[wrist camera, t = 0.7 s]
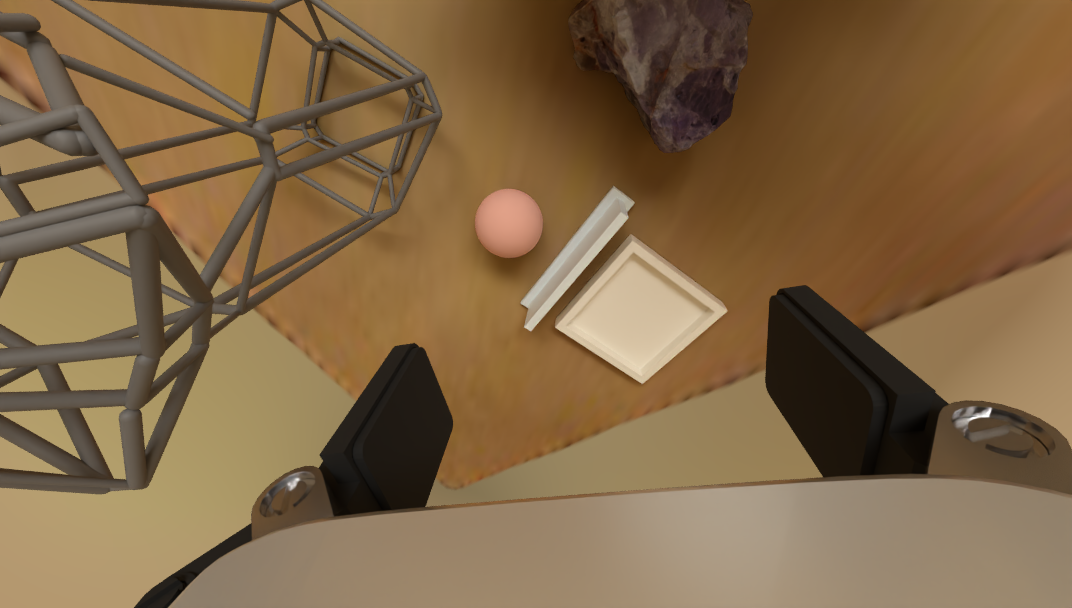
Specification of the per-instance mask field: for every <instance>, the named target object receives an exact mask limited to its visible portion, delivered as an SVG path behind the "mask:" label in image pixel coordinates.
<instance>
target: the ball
mask: <svg viewBox="0 0 1072 608" xmlns="http://www.w3.org/2000/svg"><path fill="white" fill-rule="evenodd" d="M475 229H476V233H477V236H478V238H479V240H480V242H481V243H482V245H483V246H484V247H485V248H486V249H487V250H488V251H490V252H491V253H493V254H495V255H497V256H500V257H504V258H515V257H519V256H522V255H524V254H526V253H528V252H529V251H530V250H532V249H533V248H534V247H535V245H536V244H537V243H538V241H539V239H540V237H541V234H542V229H543V218H542V214H541V211H540V208H539V207H538V205H537V203H536V202H535V201H534V200H533V199H532V198H531V197H530V196H529V195H527V194H526V193H524V192H522V191H519V190H515V189H502V190H498V191H495V192H493V193H491V194H490V195H489V196H487V197H486V198H485V199H484V200H483V201H482V203H481V204H480V206H479V208H478V210H477V213H476V217H475Z"/></svg>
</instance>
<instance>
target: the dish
mask: <svg viewBox="0 0 1072 608" xmlns="http://www.w3.org/2000/svg"><path fill="white" fill-rule="evenodd" d="M726 312H727V309H726V307H725V306H724V304H723V302H722V301H720V300H719V299H718V298H716V297H715V296H714V295H712V294H711V293H710V292H708V291H707V290H706V289H704V288H703V287H702V286H700V285H699V284H698V283H696V282H695V281H693V280H692V279H691V278H689V277H688V276H687V275H685V274H684V273H683V272H681V271H680V270H679V269H677V268H676V267H675V266H673V265H672V264H671V263H669V262H668V261H667V260H665V259H664V258H663V257H661V256H660V255H659V254H657V253H656V252H655V251H653V250H652V249H651V248H649V247H648V246H646V245H645V244H644V243H642V242H641V241H640V240H638V239H637V238H636V237H634V236H633V235H632V234H630V235H629V236H628V237H627V238H626V240H625V241H624V242H623V243H622V244H621V245H620V246H619V248H618V249H617V250H616V251H615V252H614V253H613V254H612V255H611V257H610V258H609V259H608V260H607V261H606V262H605V263H604V264H603V266H602V267H601V268H600V269H599V270H598V271H597V272H596V274H595V275H594V276H593V277H592V278H591V279H590V280H589V281H588V283H587V284H586V285H585V286H584V287H583V288H582V289H581V290H580V292H579V293H578V294H577V295H576V296H575V297H574V298H573V300H572V301H571V302H570V303H569V304H568V305H567V306H566V307H565V309H564V310H563V311H562V312H561V313H560V314H559V315H558V316H557V318H556V322H555V328H557V329H558V330H560V331H561V332H563V333H564V334H566V335H567V336H569V337H571V338H572V339H574V340H575V341H577V342H578V343H580V344H581V345H583V346H584V347H586V348H587V349H589V350H591V351H592V352H594V353H595V354H597V355H598V356H600V357H601V358H603V359H604V360H606V361H608V362H609V363H611V364H612V365H614V366H615V367H617V368H618V369H620V370H621V371H623V372H625V373H626V374H628V375H629V376H631V377H632V378H634V379H635V380H637V381H638V382H640V383H642V384H643V383H644V382H645V381H647V380H648V379H649V378H650V377H651V376H652V375H654V374H655V373H656V372H657V371H658V370H659V369H661V368H662V367H663V366H664V365H665V364H666V363H668V362H669V361H670V360H671V359H672V358H673V357H675V356H676V355H677V354H678V353H679V352H680V351H682V350H683V349H684V348H685V347H686V346H687V345H689V344H690V343H691V342H692V341H693V340H694V339H696V338H697V337H698V336H699V335H700V334H701V333H703V332H704V331H705V330H706V329H707V328H708V327H710V326H711V325H712V324H713V323H714V322H716V321H717V320H718V319H719V318H720V317H721V316H723V315H724V314H725V313H726Z"/></svg>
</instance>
